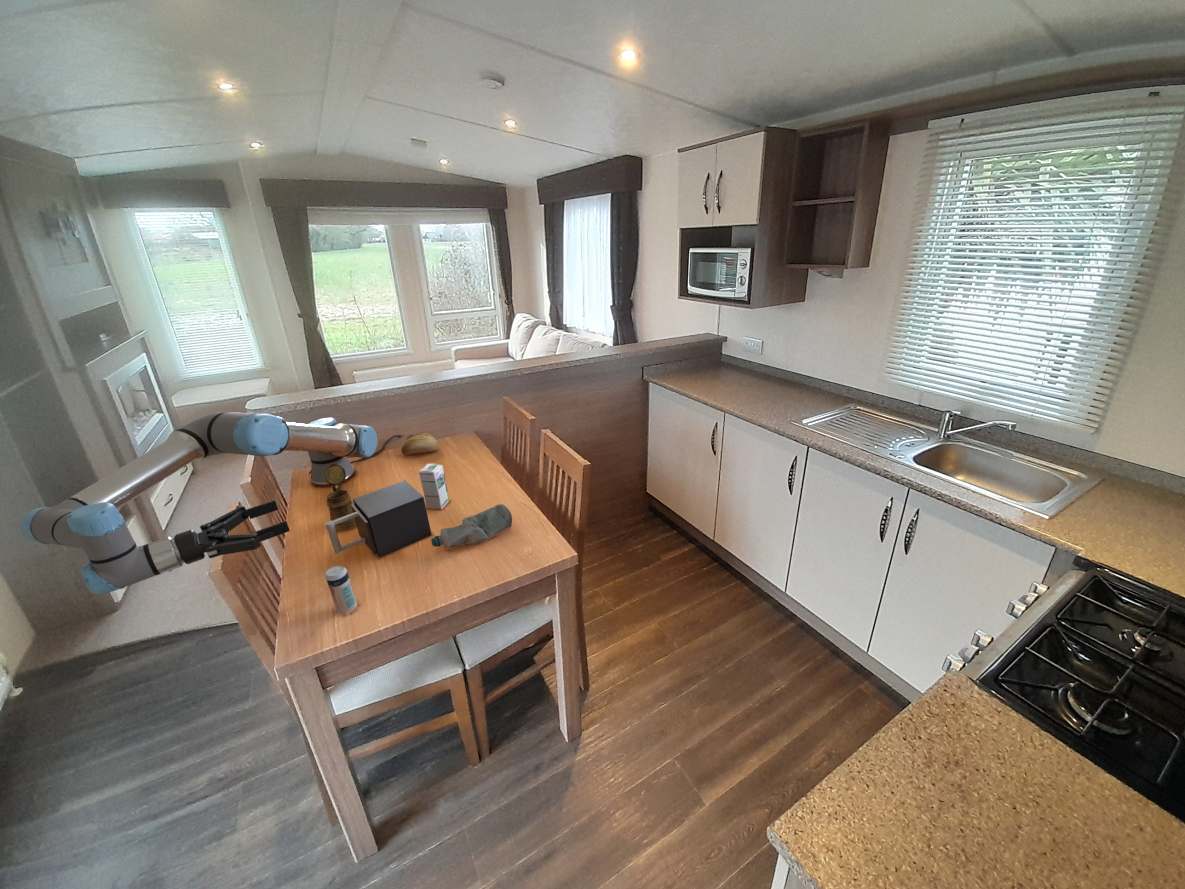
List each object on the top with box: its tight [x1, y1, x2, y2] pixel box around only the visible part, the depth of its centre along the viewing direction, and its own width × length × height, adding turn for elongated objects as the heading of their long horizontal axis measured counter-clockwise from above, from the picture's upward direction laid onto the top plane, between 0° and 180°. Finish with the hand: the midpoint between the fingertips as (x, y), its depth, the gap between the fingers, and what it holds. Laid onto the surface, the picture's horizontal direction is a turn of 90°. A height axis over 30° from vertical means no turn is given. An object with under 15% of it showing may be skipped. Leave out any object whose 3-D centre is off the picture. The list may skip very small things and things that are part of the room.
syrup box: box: [418, 463, 450, 510], centre depth 160 cm, size 6×6×14 cm
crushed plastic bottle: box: [430, 503, 513, 550], centre depth 144 cm, size 13×7×25 cm
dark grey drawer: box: [325, 503, 377, 556], centre depth 141 cm, size 24×13×12 cm, turn 131°
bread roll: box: [400, 432, 440, 456], centre depth 200 cm, size 10×15×8 cm, turn 112°
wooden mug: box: [325, 463, 357, 532], centre depth 153 cm, size 9×14×18 cm, turn 23°
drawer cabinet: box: [352, 480, 433, 559], centre depth 144 cm, size 16×14×14 cm
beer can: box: [324, 565, 358, 615], centre depth 117 cm, size 5×5×12 cm
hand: (282, 515), depth 123 cm, fingers open, 13 cm apart
